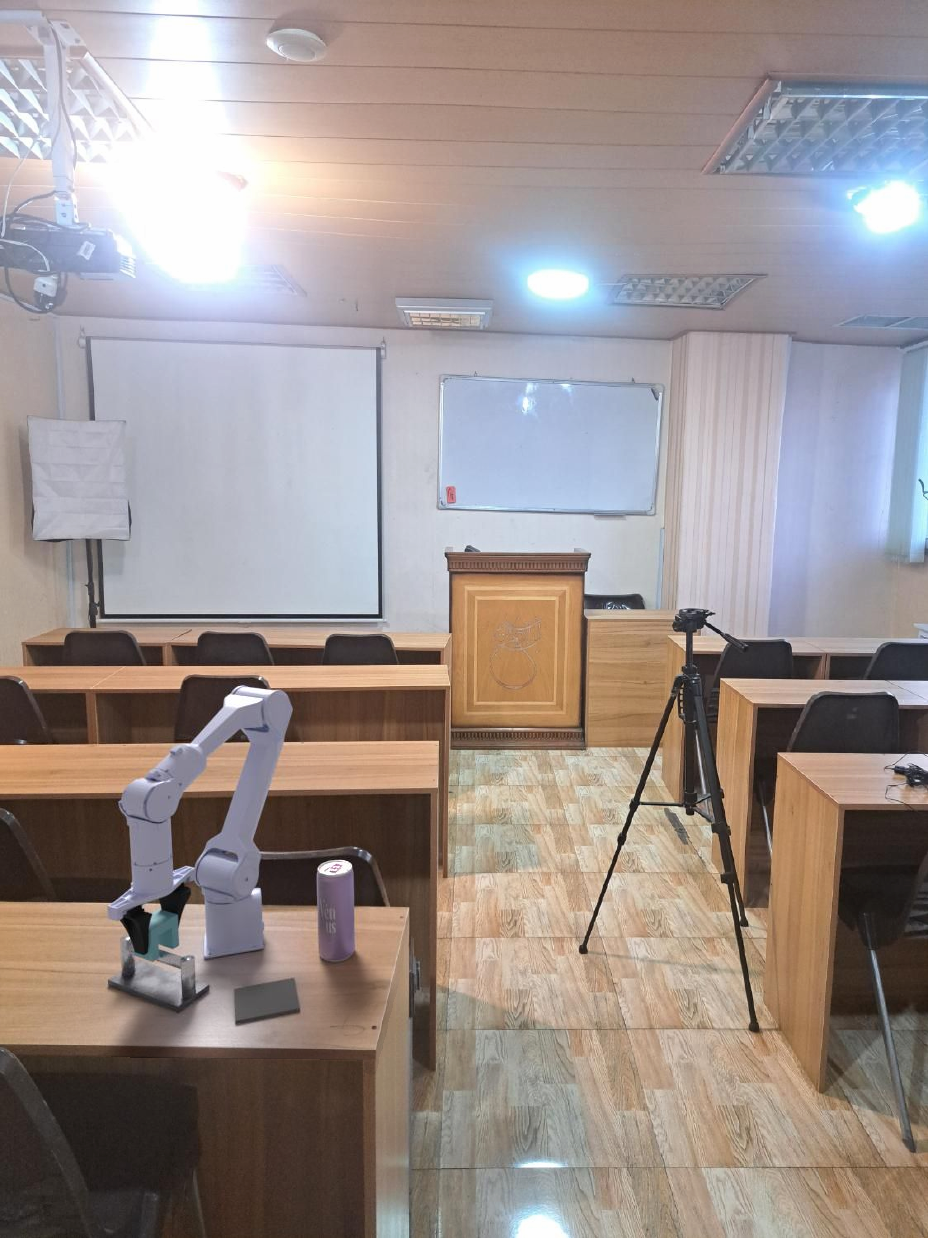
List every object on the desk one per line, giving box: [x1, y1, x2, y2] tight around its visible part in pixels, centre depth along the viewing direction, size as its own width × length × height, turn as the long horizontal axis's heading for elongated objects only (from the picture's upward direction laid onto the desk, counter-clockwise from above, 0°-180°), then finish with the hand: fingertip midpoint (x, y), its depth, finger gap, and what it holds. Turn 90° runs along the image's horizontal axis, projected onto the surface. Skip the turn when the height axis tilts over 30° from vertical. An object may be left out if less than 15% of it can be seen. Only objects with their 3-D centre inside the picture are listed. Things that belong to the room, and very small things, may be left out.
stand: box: [107, 934, 210, 1014], centre depth 113 cm, size 6×15×6 cm, turn 64°
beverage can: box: [316, 859, 356, 963], centre depth 122 cm, size 6×6×15 cm
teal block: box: [134, 908, 180, 963], centre depth 112 cm, size 5×4×5 cm
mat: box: [233, 977, 301, 1025], centre depth 110 cm, size 9×8×1 cm
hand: (156, 943), depth 113 cm, fingers closed on teal block, 5 cm apart
